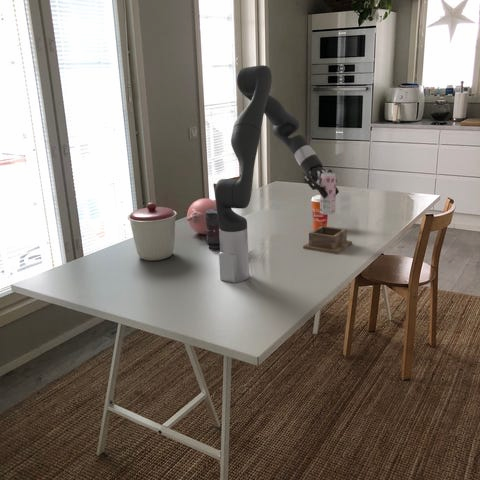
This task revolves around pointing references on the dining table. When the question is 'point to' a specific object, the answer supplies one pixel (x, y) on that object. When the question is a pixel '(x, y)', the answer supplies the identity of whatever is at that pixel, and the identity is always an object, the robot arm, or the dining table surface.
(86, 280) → the dining table surface
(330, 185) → the beverage can
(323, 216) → the paper cup
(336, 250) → the can socket
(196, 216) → the pink piggy bank
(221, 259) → the robot arm
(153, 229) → the canister
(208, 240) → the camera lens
